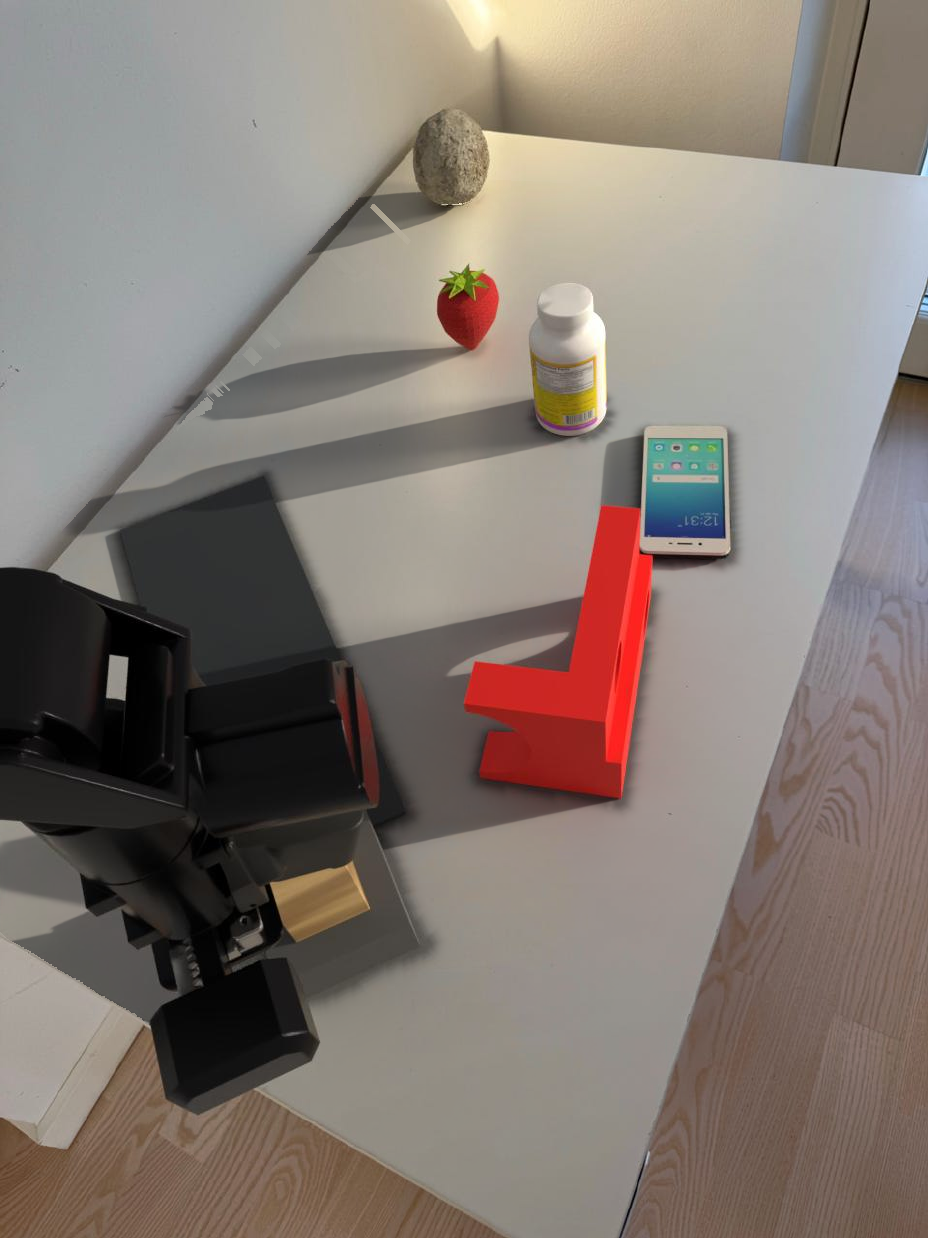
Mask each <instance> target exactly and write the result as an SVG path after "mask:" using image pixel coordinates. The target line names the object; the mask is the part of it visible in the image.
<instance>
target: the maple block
mask: <svg viewBox="0 0 928 1238" xmlns="http://www.w3.org/2000/svg"><path fill="white" fill-rule="evenodd" d="M270 885H271V888H272V891H273V894H274V898H275V901H276V904H277V907H278V910H279V913H280V917H281V920H282V923H283V926H284V927H285V928H286V930H287V931H288V932H289V934H290V935H291V936H292V938H293V939H294V940H295V942H299V941H301V940H303V939H306V938H308V937H310V936H312V935H315V934H317V933H319V932H321V931H323V930H326V929H328V928H330V927H332V926H335V925H337V924H339V923H341V922H343V921H346V920H348V919H350V918H352V917H355V916H357V915H359V914H361V913H364V912H366V911H368V910H370V907H369V904H368V902H367V899H366V896H365V894H364V891H363V888H362V886H361V883H360V880H359V877H358V875H357V872H356V869H355V867H354V864H353V861H351V862H350V863H349V864H347V865H346V866H343V867H340V868H336V869H332V868H329V869H325V870H321V871H318V872H314V873H310V874H307V875H303V876H299V877H296V878H292V879H288V880H285V881H280V882H271V883H270Z"/></svg>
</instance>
